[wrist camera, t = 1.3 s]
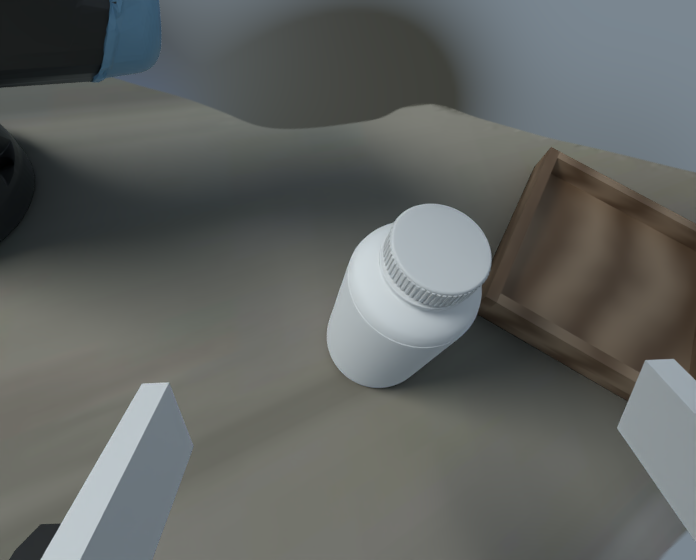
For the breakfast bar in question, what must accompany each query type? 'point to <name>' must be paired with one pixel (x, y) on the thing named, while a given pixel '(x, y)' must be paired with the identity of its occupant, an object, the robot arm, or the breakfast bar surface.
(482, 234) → the pill bottle
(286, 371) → the breakfast bar surface
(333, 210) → the breakfast bar surface
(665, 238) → the tray
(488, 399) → the breakfast bar surface
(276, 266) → the breakfast bar surface
